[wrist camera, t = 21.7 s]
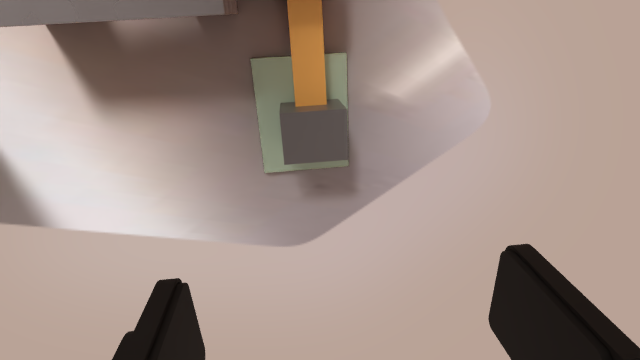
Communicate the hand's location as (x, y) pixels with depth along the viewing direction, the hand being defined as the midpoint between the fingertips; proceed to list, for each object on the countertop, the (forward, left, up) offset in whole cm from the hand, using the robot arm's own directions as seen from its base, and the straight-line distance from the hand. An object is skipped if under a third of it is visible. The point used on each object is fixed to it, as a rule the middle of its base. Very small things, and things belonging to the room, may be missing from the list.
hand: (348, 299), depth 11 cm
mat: (0, 0, -20) cm, 20 cm away
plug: (-5, 0, -20) cm, 20 cm away
